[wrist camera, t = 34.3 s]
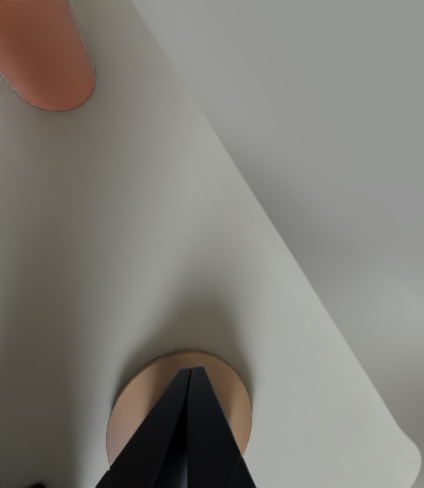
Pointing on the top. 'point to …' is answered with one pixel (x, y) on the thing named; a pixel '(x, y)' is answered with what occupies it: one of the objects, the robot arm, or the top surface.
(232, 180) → the top surface
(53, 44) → the jar
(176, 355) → the coaster
